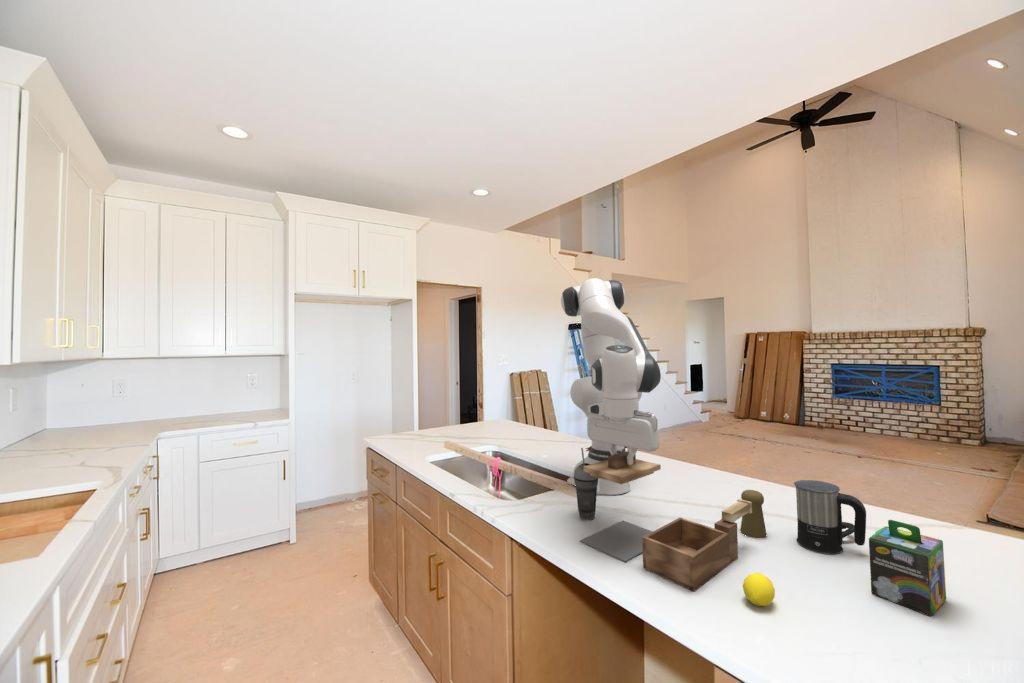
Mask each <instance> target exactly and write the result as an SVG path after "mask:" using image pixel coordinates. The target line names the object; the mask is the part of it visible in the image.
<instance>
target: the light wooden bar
mask: <svg viewBox="0 0 1024 683" xmlns="http://www.w3.org/2000/svg"><path fill="white" fill-rule="evenodd" d="M747 513H750V514H751V513H752V502H750V501H746V500H742V498H738V499H737V500H736V502H735V503H733V504H732V505H730V506H728V507H726V508H725V509H722V510H721V519H722V520H725V521H728V522H732V523H733V522H736V521H737V520H739V519H742V516H744V515H745V514H747Z"/></svg>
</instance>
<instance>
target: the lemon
mask: <svg viewBox="0 0 1024 683" xmlns="http://www.w3.org/2000/svg"><path fill="white" fill-rule="evenodd" d="M742 588H743V593H744V595H745V597H746V598H747V600H748V601H749V602H751V603H752V604H753V605H756V606H758V607H767V606H769V605H770V604H772V602H773V601H774V599H775V597H776V596H775V595H776V594H775V591H776V590H775V587H774V584H773V582H772V580H770V578H769V577H768V576H766V575H764V574H762V573H759V572H758V573H757V572H753V573H751V574H748V575H747V576H745V578H744V579H743V584H742Z"/></svg>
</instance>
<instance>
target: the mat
mask: <svg viewBox="0 0 1024 683" xmlns="http://www.w3.org/2000/svg"><path fill="white" fill-rule="evenodd" d="M653 531H654V530H650V529H648V528H645V527H643V526H639V525H637V524H635V523H631V522H629V521H626V520H621V521H619V522H616V523H614V524H613V525H610V526H608V527H605V528H604V529H601V530H599V531H597V532H595V533H592V534H589V535H588V536H586V537H584V538H582V539H579V542H580V543H581V544H584V545H586V546H589V547H590V548H592V549H594V550H597V551H599V552H601V553H603V554H605V555H607V556H610V557H612V558H613V559H615V560H616V559H617V560H618V561H620V562H623V563H625V564H627V563H628V562H630V561H632V560H633V559H635V558H637V557H638V556H640V555H643V543H642V537H644V536H646V535H647V534H649V533H651V532H653Z"/></svg>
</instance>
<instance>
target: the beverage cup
mask: <svg viewBox="0 0 1024 683" xmlns="http://www.w3.org/2000/svg"><path fill="white" fill-rule="evenodd" d="M580 450H581V458H582V460H583V464H580V465H579V466H578V467H577V468H576V470H575V472H574V471H573V476H574V477H573V478H574V481H575V485H576V487H575V493H576V500H577V508H578V509H577V511H578V517H579V519H581V520H583V521H591V520H595V518H596V512H597V511H596V510H597V509H596V507H597V496H598V494H597V485H598V479H599V478H598V477H594V476H591V475H590V473H588V472H584V471H583V467H584V466H587V465H591V464H588V463H585V461H584V459H585V454H584V447H581V448H580Z"/></svg>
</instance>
